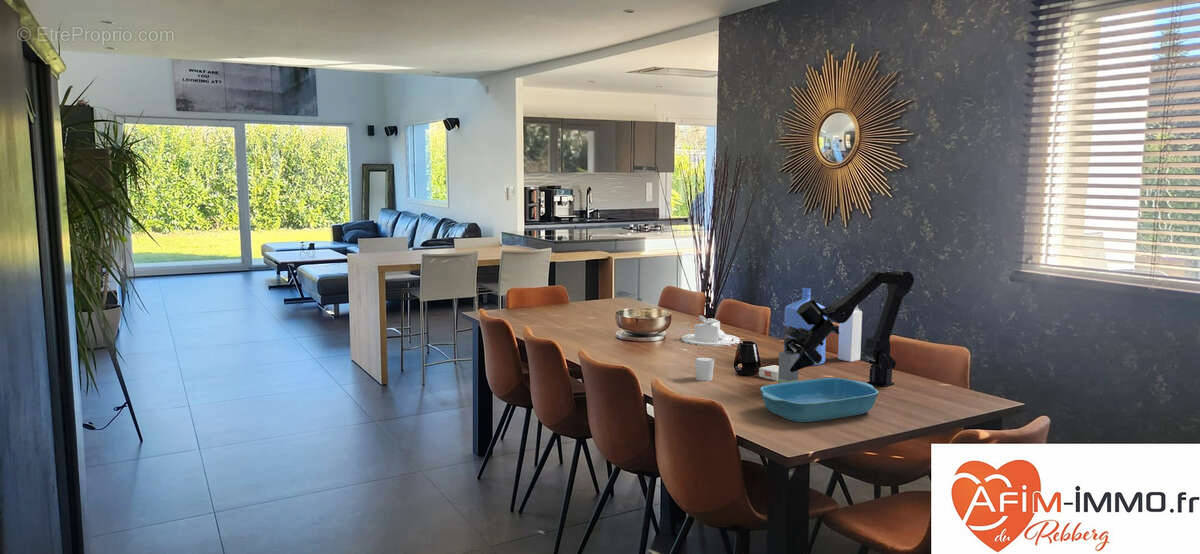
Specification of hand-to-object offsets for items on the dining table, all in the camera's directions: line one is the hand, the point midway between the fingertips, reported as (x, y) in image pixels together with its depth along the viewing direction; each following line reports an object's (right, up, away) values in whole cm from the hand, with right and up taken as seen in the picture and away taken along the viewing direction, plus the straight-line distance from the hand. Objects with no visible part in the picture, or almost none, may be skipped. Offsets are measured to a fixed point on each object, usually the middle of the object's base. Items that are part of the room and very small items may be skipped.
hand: (784, 368), depth 268 cm
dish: (-13, +2, +82) cm, 84 cm away
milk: (+35, -2, +45) cm, 57 cm away
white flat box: (0, -5, +17) cm, 17 cm away
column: (+1, -7, +1) cm, 7 cm away
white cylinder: (-25, -5, +14) cm, 29 cm away
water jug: (+17, -2, +41) cm, 45 cm away
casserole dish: (+4, -10, -26) cm, 28 cm away
